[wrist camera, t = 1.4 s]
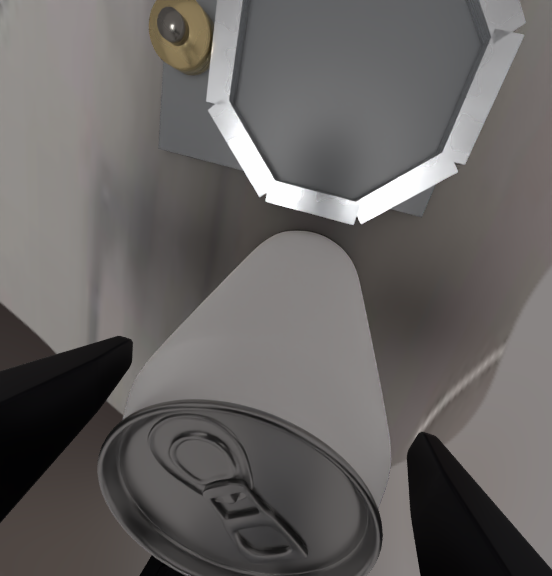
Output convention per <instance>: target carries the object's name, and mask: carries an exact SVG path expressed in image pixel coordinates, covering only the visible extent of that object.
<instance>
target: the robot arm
mask: <svg viewBox="0 0 552 576" xmlns="http://www.w3.org/2000/svg"><path fill="white" fill-rule="evenodd" d="M132 351H133V342H132V340H131V339H129V338H126V337H122V336H116V337H113V338H109V339H106V340H103V341H99V342H96V343H93V344H89V345H86V346H83V347H79V348H76V349H73V350H69V351H66V352H63V353H59V354H56V355H53V356H49V357H46V358H43V359H39V360H36V361H33V362H30V363H26V364H23V365H19V366H16V367H13V368H9V369H6V370H3V371H0V523H1V522H2V520H3V519H4V518H5V517H6V516H7V515H8V514H9V512H10V511H11V510H12V509H13V508H14V507H15V505H16V504H17V503H18V502H19V501H20V500H21V499H22V498H23V496H24V495H25V494H26V493H27V492H28V491H29V490H30V488H31V487H32V486H33V485H34V484H35V482H36V481H37V480H38V479H39V478H40V477H41V476H42V475H43V474H44V472H45V471H46V470H47V469H48V468H49V467H50V466H51V464H52V463H53V462H54V461H55V460H56V459H57V457H58V456H59V455H60V454H61V453H62V452H63V451H64V450H65V448H66V447H67V446H68V445H69V444H70V443H71V442H72V440H73V439H74V438H75V437H76V436H77V435H78V434H79V432H80V431H81V430H82V429H83V428H84V427H85V425H86V424H87V423H88V422H89V421H90V420H91V419H92V417H93V416H94V415H95V414H96V413H97V412H98V410H99V409H100V408H101V406H102V405H103V404H104V402H105V401H106V400H107V398H108V397H109V396H110V394H111V393H112V391H113V390H114V389H115V387H116V386H117V384H118V383H119V382H120V380H121V379H122V377H123V376H124V374H125V373H126V372H127V370H128V369H129V367H130V365H131V363H132ZM407 467H408V482H409V498H410V511H411V520H412V526H413V532H414V539H415V545H416V551H417V557H418V563H419V569H420V575H421V576H552V569H551V568H550V567H549V566H548V565H547V564H546V562H545V561H544V560H543V559H542V558H541V557H540V555H539V554H538V553H537V552H536V551H535V550H534V549H533V547H532V546H531V545H530V544H529V543H528V542H527V540H526V539H525V538H524V537H523V536H522V535H521V533H520V532H519V531H518V530H517V529H516V528H515V527H514V525H513V524H512V523H511V522H510V521H509V520H508V518H507V517H506V516H505V515H504V514H503V513H502V512H501V511H500V509H499V508H498V507H497V506H496V505H495V503H494V502H493V501H492V500H491V499H490V498H489V497H488V496H487V494H486V493H485V492H484V491H483V490H482V488H481V487H480V486H479V485H478V484H477V483H476V482H475V480H474V479H473V478H472V477H471V476H470V475H469V474H468V472H467V471H466V470H465V469H464V468H463V467H462V465H461V464H460V463H459V462H458V461H457V460H456V458H455V457H454V456H453V455H452V454H451V453H450V452H449V450H448V449H447V448H446V447H445V446H444V445H443V443H442V442H441V441H440V440H439V439H438V438H437V437H436V436H434V435H432V434H428V433H425V432H420V433H419V434H418V435H417V437H416V438H415V440H414V442H413V443H412V445H411V446H410V448H409V450H408V453H407ZM140 576H185V575H183V574H181V573H179V572H177V571H176V570H174V569H172V568H170V567H169V566H167V565H166V564H164V563H163V562H161V561H160V560H158V559H157V558H155V557H154V556H153V555H152V556H151V557H150V559H149V561H148V562H147V564H146V566H145V568H144V569H143V571H142V573H141V574H140Z"/></svg>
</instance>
